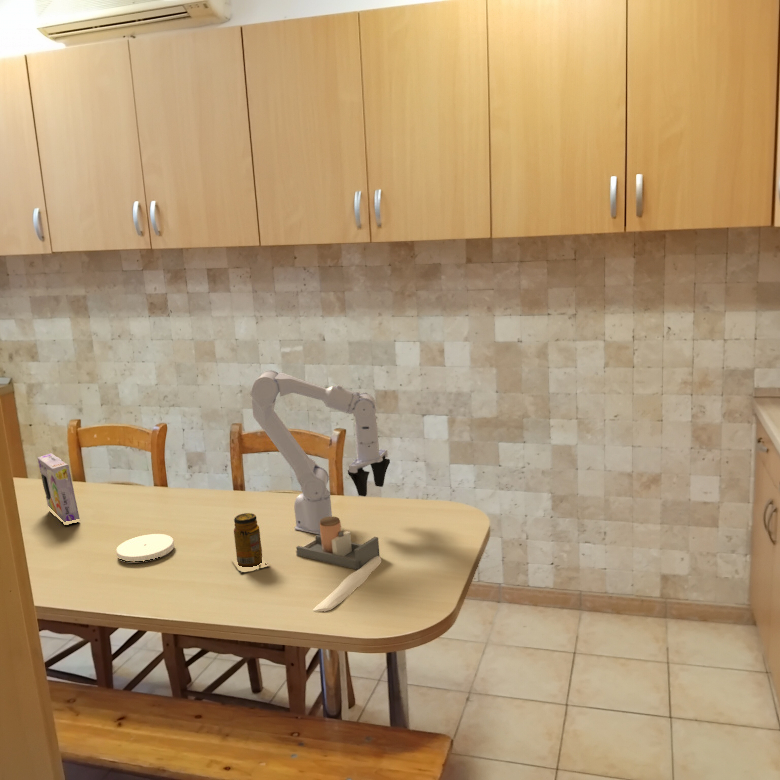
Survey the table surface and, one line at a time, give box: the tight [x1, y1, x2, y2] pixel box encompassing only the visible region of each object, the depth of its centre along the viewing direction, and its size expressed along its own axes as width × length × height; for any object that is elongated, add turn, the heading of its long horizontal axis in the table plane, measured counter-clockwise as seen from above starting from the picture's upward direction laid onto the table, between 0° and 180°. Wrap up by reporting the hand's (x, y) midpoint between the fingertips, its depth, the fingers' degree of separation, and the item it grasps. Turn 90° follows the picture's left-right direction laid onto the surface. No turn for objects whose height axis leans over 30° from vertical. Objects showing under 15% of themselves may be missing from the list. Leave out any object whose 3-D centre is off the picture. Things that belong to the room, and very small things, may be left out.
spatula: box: [312, 556, 382, 612], centre depth 178 cm, size 28×4×2 cm, turn 153°
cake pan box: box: [37, 452, 81, 522], centre depth 231 cm, size 19×5×18 cm, turn 36°
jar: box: [320, 516, 342, 554], centre depth 192 cm, size 5×5×9 cm
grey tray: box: [295, 534, 381, 571], centre depth 192 cm, size 19×8×5 cm, turn 56°
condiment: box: [233, 512, 269, 567], centre depth 190 cm, size 7×8×12 cm
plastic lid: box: [115, 533, 175, 562], centre depth 202 cm, size 14×14×2 cm
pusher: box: [332, 530, 352, 556], centre depth 191 cm, size 1×6×6 cm, turn 146°
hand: (371, 490), depth 208 cm, fingers open, 7 cm apart
